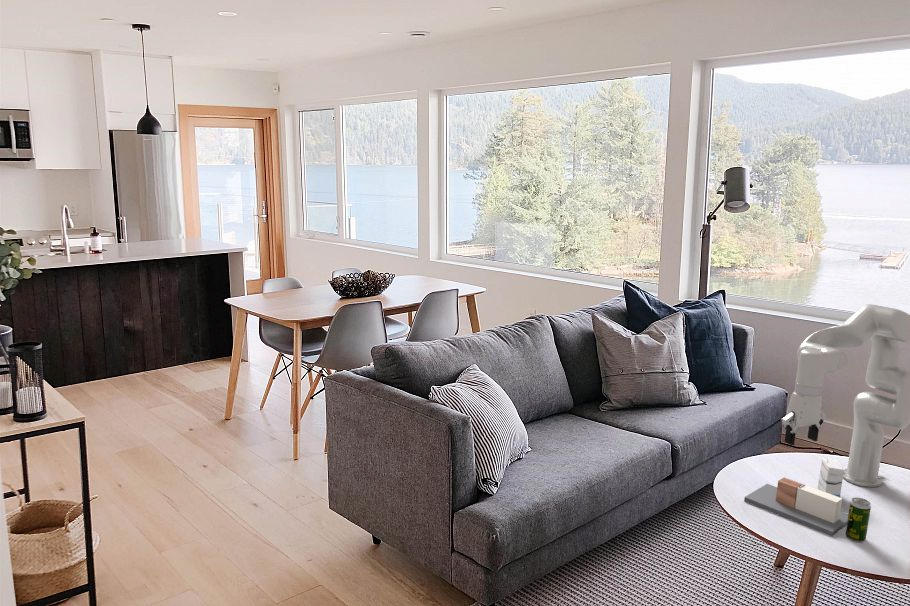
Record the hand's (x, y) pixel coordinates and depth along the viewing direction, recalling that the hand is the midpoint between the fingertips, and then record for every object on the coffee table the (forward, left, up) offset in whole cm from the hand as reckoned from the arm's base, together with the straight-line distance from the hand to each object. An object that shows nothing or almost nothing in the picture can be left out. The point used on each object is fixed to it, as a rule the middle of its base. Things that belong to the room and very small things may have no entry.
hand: (800, 441), depth 230 cm
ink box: (-20, +3, -24) cm, 32 cm away
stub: (-2, -3, -23) cm, 23 cm away
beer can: (+1, +20, -24) cm, 31 cm away
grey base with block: (-2, +1, -24) cm, 24 cm away
